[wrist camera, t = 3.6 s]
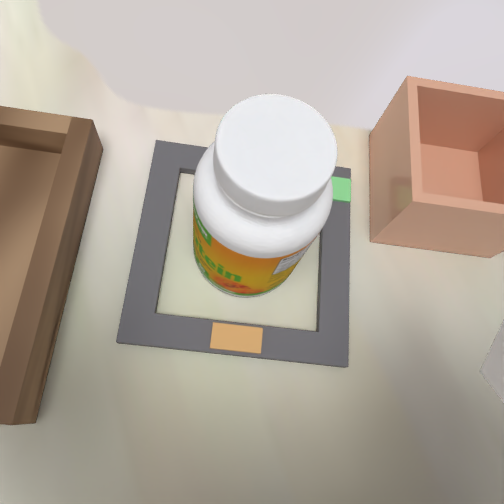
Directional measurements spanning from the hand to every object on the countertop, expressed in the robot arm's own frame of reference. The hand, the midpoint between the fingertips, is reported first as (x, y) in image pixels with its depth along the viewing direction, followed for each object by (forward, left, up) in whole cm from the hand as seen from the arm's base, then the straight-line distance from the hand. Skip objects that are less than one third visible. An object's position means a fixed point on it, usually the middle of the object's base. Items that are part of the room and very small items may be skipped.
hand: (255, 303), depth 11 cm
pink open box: (-12, -8, -11) cm, 18 cm away
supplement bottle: (-1, -5, -11) cm, 12 cm away
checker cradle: (-1, -5, -11) cm, 12 cm away
